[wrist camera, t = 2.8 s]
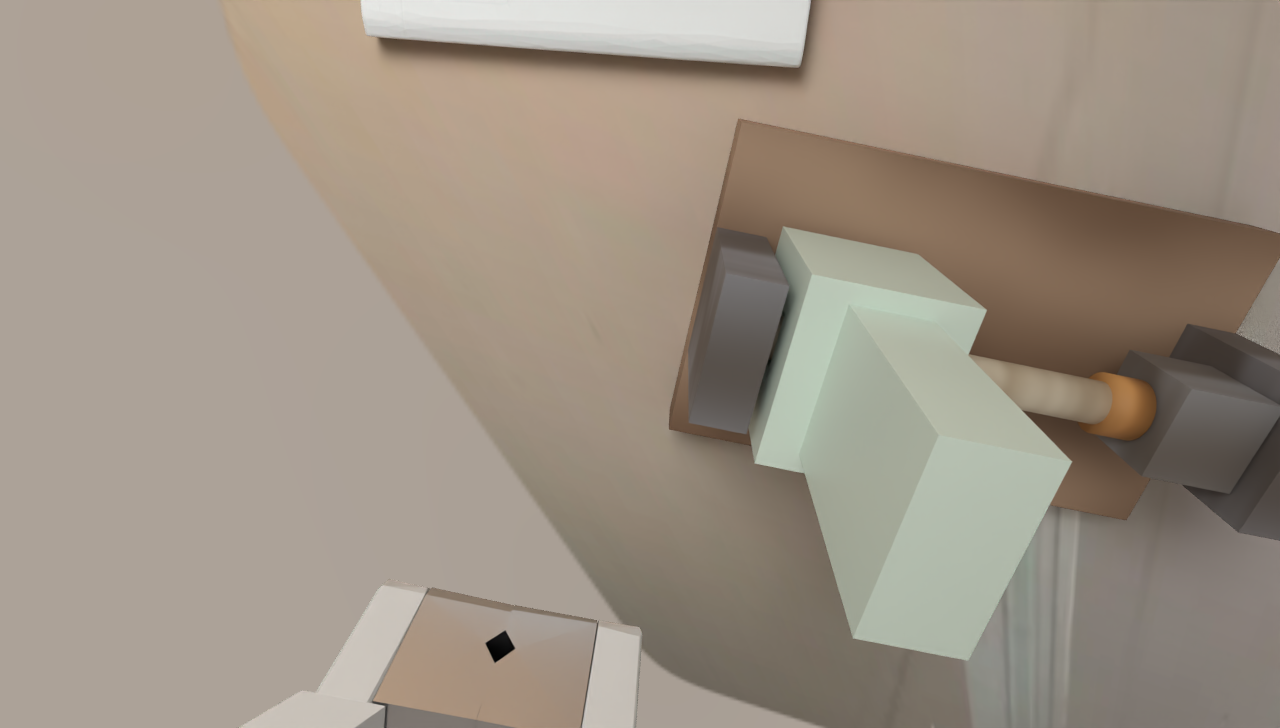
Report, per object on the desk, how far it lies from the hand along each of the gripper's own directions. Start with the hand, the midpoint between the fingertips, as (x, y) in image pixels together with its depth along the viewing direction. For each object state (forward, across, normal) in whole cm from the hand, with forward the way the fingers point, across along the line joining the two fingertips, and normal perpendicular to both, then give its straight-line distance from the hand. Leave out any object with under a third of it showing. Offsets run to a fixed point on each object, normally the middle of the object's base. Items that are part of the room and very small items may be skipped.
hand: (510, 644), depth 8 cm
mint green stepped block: (+14, -6, -1) cm, 15 cm away
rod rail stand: (+16, -11, -1) cm, 19 cm away
